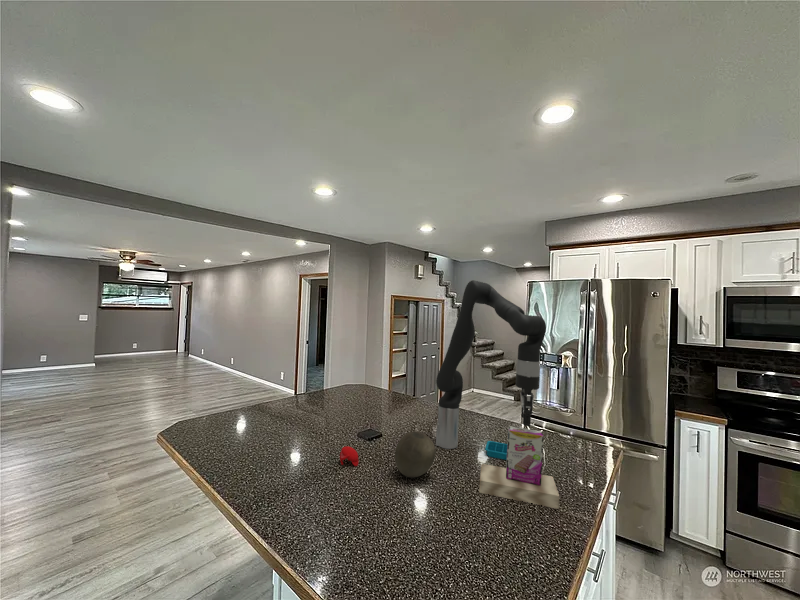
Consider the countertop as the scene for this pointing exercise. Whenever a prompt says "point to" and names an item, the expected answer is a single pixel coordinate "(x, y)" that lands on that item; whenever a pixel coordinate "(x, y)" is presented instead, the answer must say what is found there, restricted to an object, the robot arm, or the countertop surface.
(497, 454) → the ice cube tray
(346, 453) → the cap
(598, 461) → the countertop surface
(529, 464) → the candy bar box
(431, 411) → the countertop surface
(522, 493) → the birch stand
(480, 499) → the countertop surface
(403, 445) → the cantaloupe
